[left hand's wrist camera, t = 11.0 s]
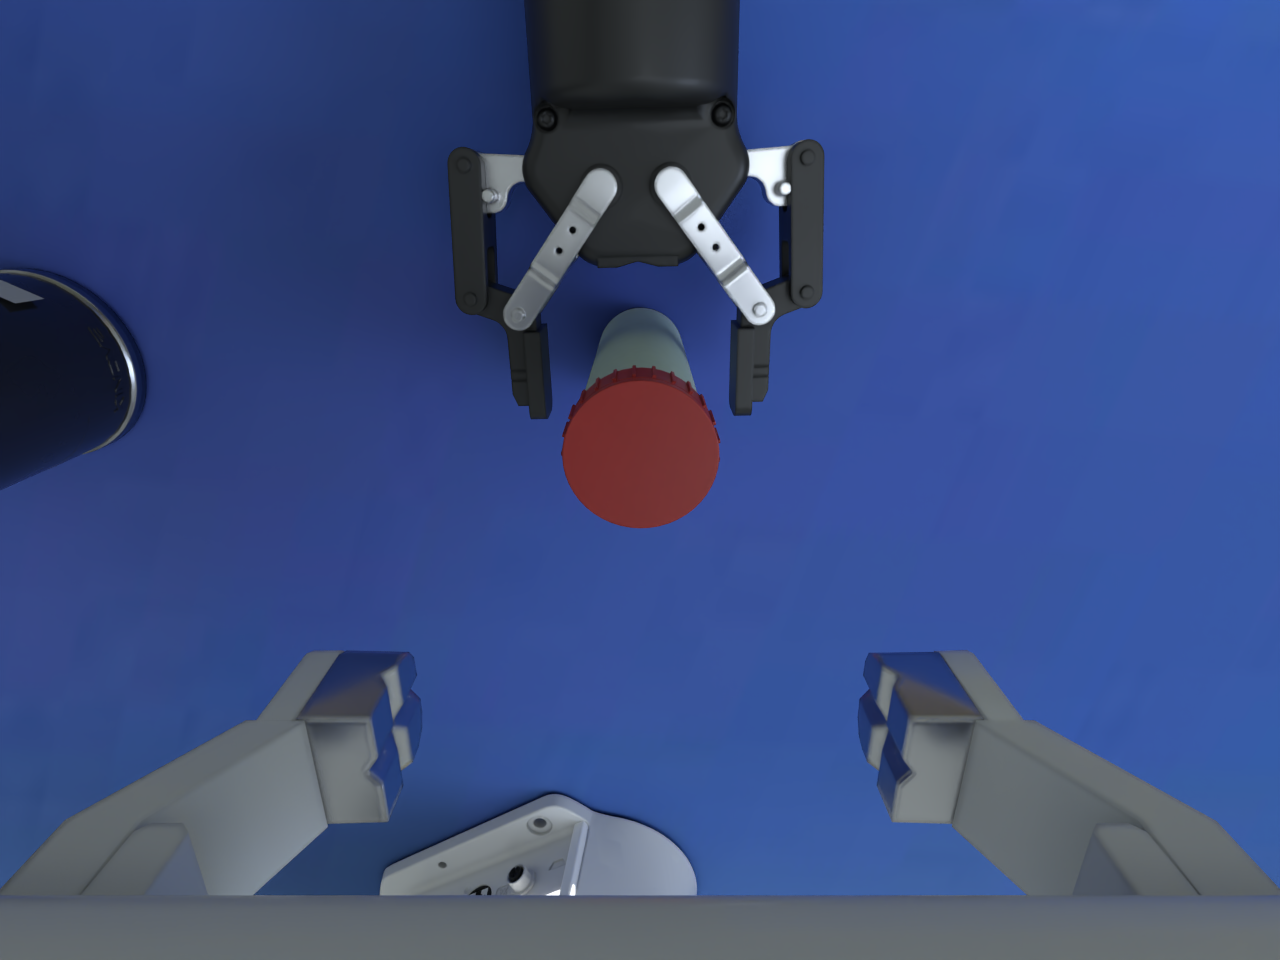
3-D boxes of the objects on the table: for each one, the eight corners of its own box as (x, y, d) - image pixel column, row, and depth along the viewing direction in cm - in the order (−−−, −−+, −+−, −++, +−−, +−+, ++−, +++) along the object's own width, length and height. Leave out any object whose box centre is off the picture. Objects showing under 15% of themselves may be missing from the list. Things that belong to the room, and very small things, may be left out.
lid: (627, 331, 21) (626, 343, 19) (747, 427, 22) (755, 445, 20) (536, 450, 22) (527, 469, 21) (652, 533, 23) (653, 558, 22)
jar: (633, 289, 35) (628, 353, 20) (699, 343, 35) (740, 441, 21) (582, 356, 36) (542, 463, 21) (647, 406, 37) (651, 541, 22)
